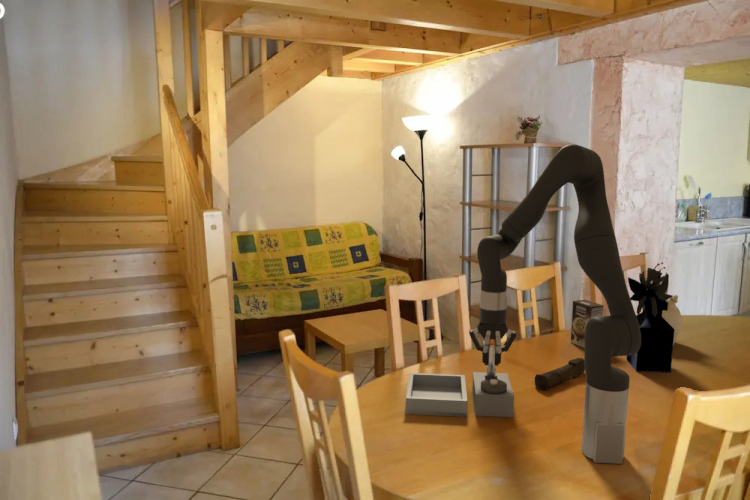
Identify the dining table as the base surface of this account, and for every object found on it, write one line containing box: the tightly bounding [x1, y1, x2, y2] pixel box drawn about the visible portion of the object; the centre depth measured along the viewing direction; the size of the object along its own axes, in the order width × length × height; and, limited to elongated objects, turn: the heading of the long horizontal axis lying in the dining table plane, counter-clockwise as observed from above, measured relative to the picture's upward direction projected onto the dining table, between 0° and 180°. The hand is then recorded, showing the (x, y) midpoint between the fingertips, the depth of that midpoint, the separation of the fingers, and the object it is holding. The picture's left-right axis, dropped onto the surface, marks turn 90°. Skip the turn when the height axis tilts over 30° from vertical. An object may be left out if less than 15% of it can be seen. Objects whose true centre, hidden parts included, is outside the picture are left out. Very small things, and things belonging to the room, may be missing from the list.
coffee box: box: [570, 299, 604, 349], centre depth 210 cm, size 9×6×16 cm
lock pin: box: [486, 339, 497, 379], centre depth 163 cm, size 3×3×14 cm
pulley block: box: [471, 371, 515, 418], centre depth 161 cm, size 16×10×8 cm, turn 173°
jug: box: [635, 276, 682, 346], centre depth 212 cm, size 15×16×25 cm
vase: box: [626, 262, 674, 373], centre depth 186 cm, size 14×12×35 cm
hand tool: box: [534, 357, 586, 391], centre depth 177 cm, size 23×5×6 cm, turn 124°
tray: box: [405, 372, 468, 418], centre depth 163 cm, size 18×16×4 cm
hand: (491, 364), depth 163 cm, fingers closed on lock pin, 2 cm apart
